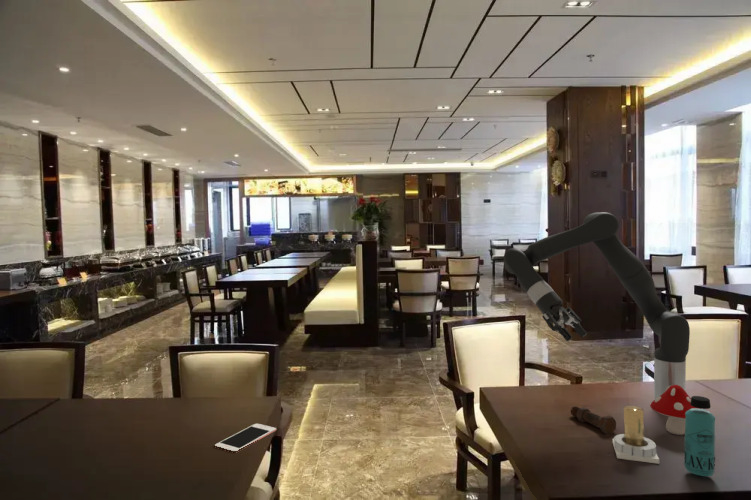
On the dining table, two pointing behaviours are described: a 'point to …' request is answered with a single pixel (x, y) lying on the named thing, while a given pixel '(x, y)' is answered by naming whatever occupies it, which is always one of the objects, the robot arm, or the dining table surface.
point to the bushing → (634, 426)
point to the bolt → (595, 419)
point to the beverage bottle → (699, 438)
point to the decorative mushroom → (673, 408)
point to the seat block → (635, 450)
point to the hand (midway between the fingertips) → (577, 337)
